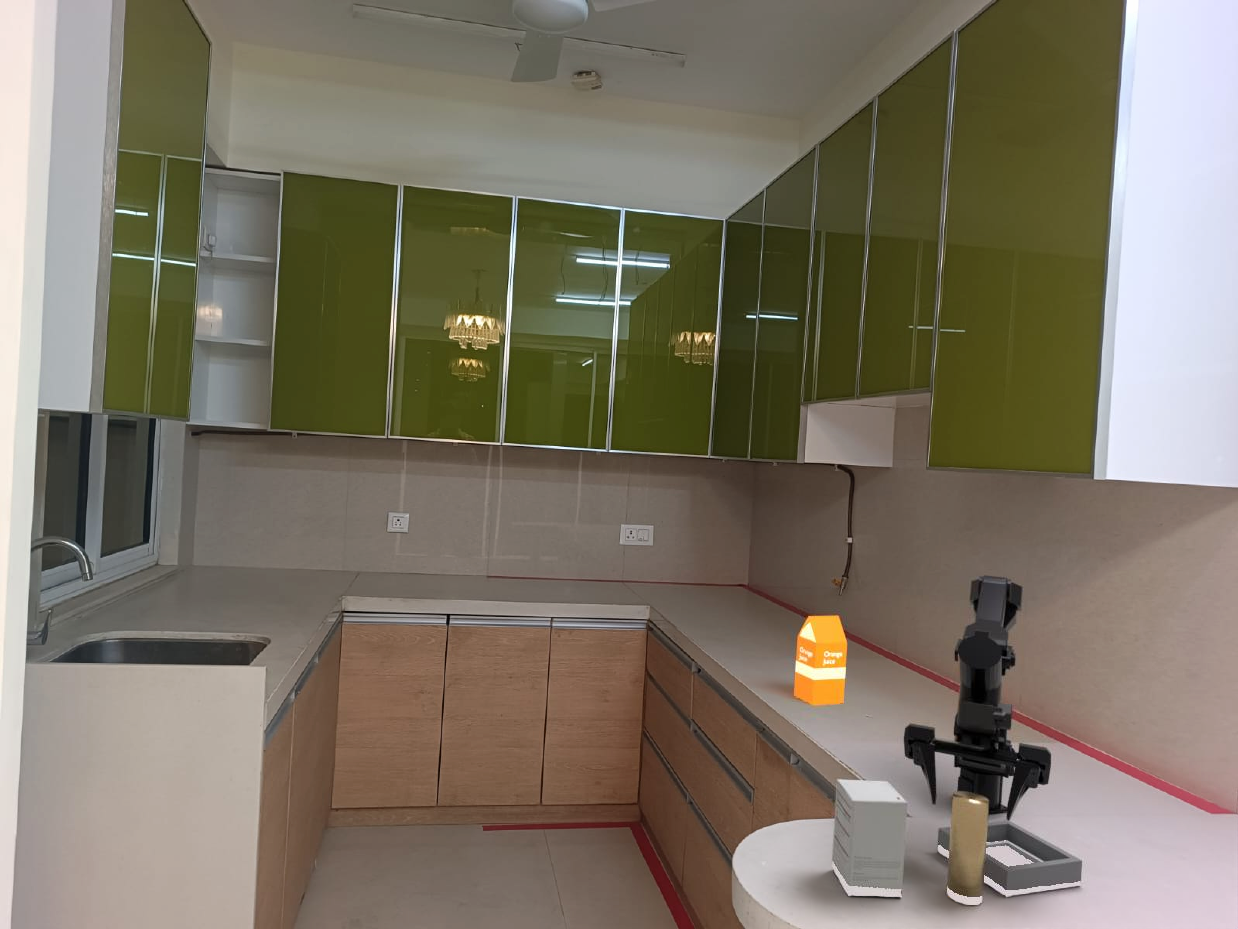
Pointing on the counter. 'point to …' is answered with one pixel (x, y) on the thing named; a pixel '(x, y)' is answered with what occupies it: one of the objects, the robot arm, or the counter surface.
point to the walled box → (1047, 857)
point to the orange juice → (821, 661)
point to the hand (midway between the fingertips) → (970, 810)
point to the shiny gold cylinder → (967, 843)
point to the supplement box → (869, 833)
